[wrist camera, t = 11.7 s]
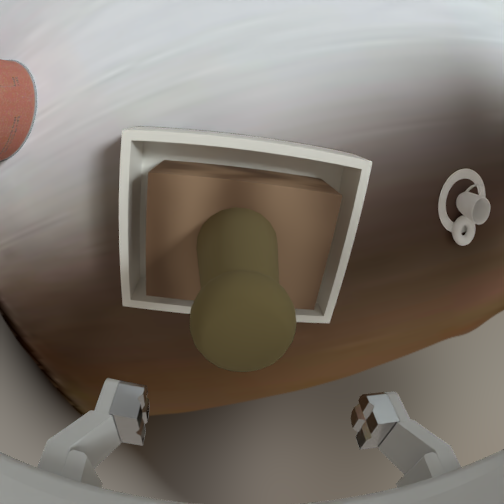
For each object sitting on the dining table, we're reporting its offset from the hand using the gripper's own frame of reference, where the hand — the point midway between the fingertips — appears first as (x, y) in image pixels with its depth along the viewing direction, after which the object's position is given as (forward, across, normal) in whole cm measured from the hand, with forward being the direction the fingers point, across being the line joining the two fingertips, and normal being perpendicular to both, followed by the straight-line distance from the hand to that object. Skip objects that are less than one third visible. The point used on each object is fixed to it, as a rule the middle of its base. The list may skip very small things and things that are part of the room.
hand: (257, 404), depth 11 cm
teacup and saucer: (+22, -23, -3) cm, 32 cm away
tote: (+21, 0, 0) cm, 21 cm away
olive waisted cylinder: (+15, 0, 0) cm, 15 cm away
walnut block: (+20, 0, 0) cm, 20 cm away
